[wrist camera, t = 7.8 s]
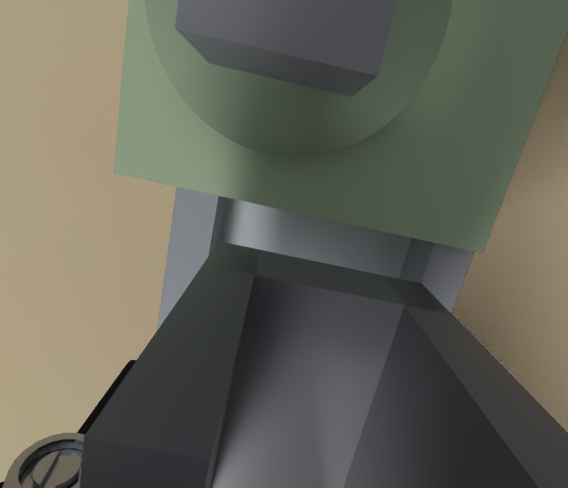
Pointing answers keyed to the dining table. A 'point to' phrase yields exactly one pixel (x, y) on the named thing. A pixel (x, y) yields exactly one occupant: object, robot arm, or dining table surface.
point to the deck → (398, 159)
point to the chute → (317, 390)
